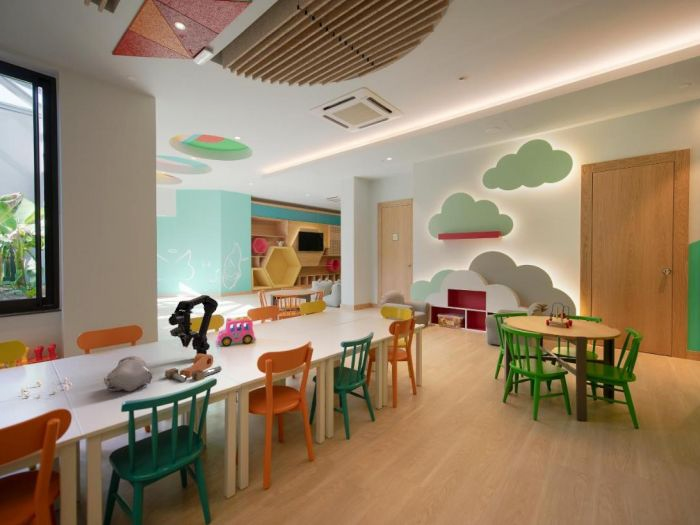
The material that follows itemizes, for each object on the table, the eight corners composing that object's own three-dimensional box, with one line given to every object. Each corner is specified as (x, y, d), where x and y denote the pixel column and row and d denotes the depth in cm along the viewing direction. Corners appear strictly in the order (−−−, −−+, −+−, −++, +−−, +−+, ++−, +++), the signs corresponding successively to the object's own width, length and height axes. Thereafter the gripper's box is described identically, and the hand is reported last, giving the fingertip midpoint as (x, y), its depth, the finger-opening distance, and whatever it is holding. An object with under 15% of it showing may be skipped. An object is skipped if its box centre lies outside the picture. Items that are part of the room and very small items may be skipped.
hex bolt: (165, 377, 181) (165, 370, 181) (174, 374, 185) (174, 367, 185) (179, 383, 173) (179, 376, 173) (188, 380, 178) (188, 373, 178)
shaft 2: (197, 381, 177) (197, 373, 177) (192, 379, 179) (191, 372, 179) (222, 371, 190) (222, 365, 190) (217, 370, 193) (217, 363, 193)
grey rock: (104, 402, 154) (106, 373, 152) (101, 383, 167) (103, 356, 165) (152, 393, 168) (155, 366, 165) (147, 376, 180) (149, 351, 178)
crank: (202, 364, 203) (202, 351, 202) (213, 365, 201) (213, 353, 200) (177, 376, 183) (177, 362, 183) (189, 378, 181) (189, 364, 181)
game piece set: (19, 390, 163) (19, 383, 163) (71, 379, 177) (71, 372, 177) (18, 404, 150) (18, 395, 149) (75, 391, 164) (74, 383, 163)
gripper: (163, 322, 195) (163, 347, 196) (181, 326, 185) (181, 353, 186) (181, 318, 204) (181, 343, 205) (199, 322, 195) (199, 348, 195)
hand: (185, 347), depth 198 cm, fingers closed
